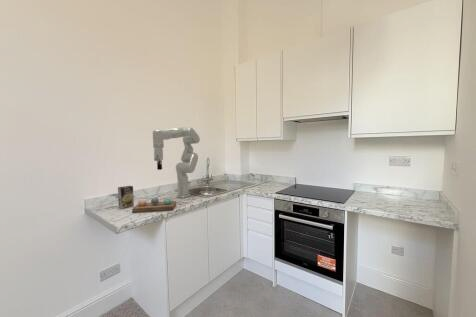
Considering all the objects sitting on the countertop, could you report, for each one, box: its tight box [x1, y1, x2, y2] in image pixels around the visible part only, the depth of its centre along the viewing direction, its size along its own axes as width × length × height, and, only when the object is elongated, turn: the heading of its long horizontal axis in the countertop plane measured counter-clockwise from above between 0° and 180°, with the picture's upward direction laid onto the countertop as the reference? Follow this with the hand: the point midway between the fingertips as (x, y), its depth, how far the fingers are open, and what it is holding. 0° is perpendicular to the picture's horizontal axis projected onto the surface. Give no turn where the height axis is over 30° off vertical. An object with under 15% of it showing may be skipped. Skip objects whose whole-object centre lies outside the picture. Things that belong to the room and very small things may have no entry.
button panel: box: [131, 200, 177, 214], centre depth 156 cm, size 14×28×3 cm, turn 98°
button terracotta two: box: [138, 199, 147, 206], centre depth 155 cm, size 5×5×3 cm
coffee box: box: [117, 185, 135, 210], centre depth 162 cm, size 9×6×16 cm
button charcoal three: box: [150, 197, 159, 204], centre depth 156 cm, size 5×5×3 cm
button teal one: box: [163, 198, 172, 205], centre depth 157 cm, size 5×5×3 cm
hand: (159, 169), depth 163 cm, fingers closed
